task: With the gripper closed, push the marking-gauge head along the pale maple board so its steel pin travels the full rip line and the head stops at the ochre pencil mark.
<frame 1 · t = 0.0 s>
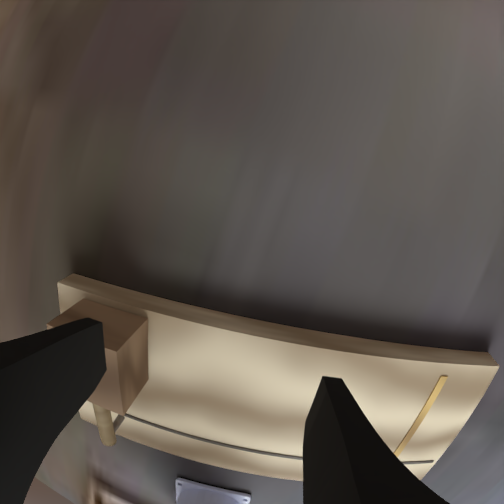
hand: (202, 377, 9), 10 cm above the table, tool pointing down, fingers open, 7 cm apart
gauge: (104, 387, 18), point 4 cm above the table, slide at 0.0 cm
board: (269, 404, 21), on the table
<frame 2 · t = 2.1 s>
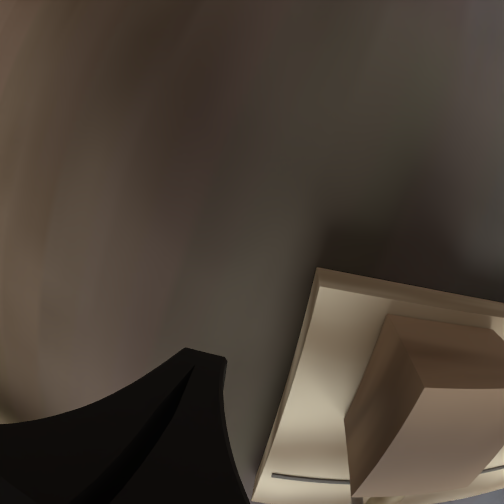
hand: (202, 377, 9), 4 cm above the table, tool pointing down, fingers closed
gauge: (403, 459, 9), point 4 cm above the table, slide at 0.0 cm
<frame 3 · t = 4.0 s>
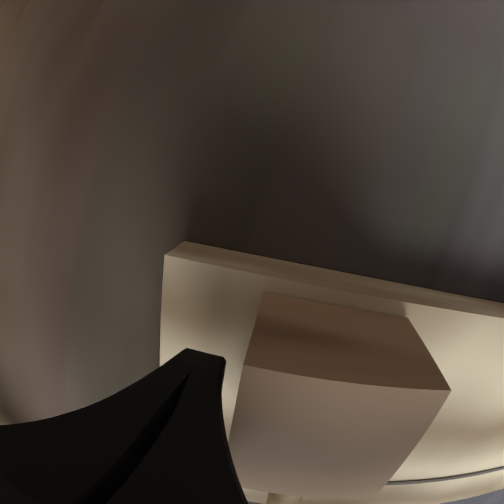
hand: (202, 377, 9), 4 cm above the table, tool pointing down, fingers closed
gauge: (299, 455, 9), point 4 cm above the table, slide at 1.0 cm, touching gripper
board: (463, 416, 13), on the table
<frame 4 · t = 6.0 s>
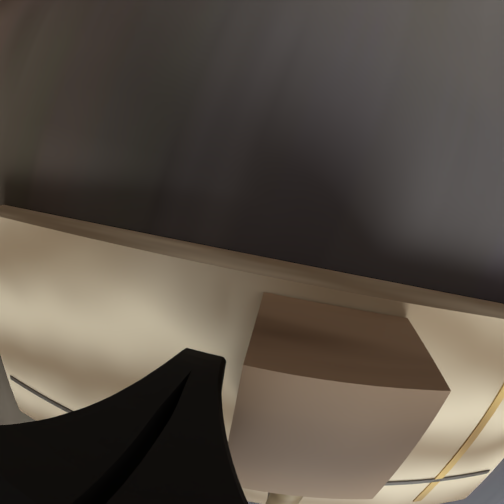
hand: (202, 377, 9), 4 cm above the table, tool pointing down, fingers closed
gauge: (299, 455, 9), point 4 cm above the table, slide at 12.4 cm, touching gripper
board: (266, 401, 14), on the table
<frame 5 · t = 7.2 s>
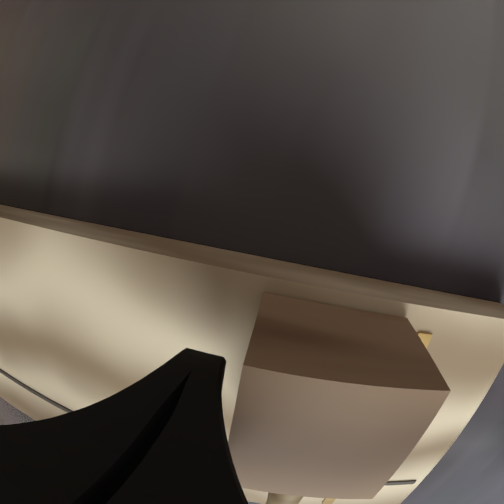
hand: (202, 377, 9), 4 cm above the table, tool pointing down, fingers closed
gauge: (299, 455, 9), point 4 cm above the table, slide at 18.5 cm, touching gripper
board: (146, 370, 14), on the table
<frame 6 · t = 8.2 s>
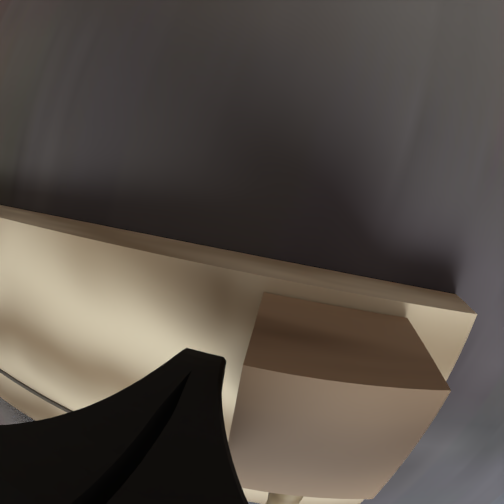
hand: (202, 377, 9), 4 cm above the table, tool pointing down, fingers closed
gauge: (299, 455, 9), point 4 cm above the table, slide at 21.4 cm, touching gripper
board: (97, 353, 15), on the table
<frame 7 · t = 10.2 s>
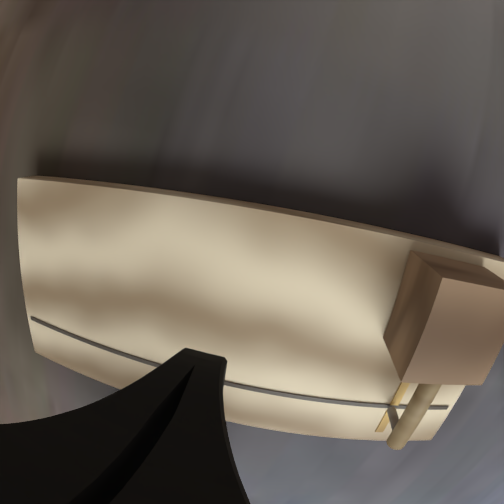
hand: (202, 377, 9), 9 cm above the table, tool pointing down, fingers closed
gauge: (430, 365, 14), point 4 cm above the table, slide at 21.8 cm
board: (236, 318, 19), on the table
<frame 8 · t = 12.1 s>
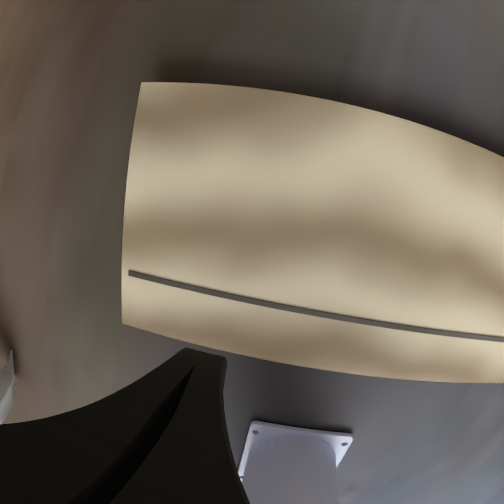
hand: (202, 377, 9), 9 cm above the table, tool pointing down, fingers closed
board: (410, 256, 16), on the table
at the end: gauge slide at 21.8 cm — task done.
